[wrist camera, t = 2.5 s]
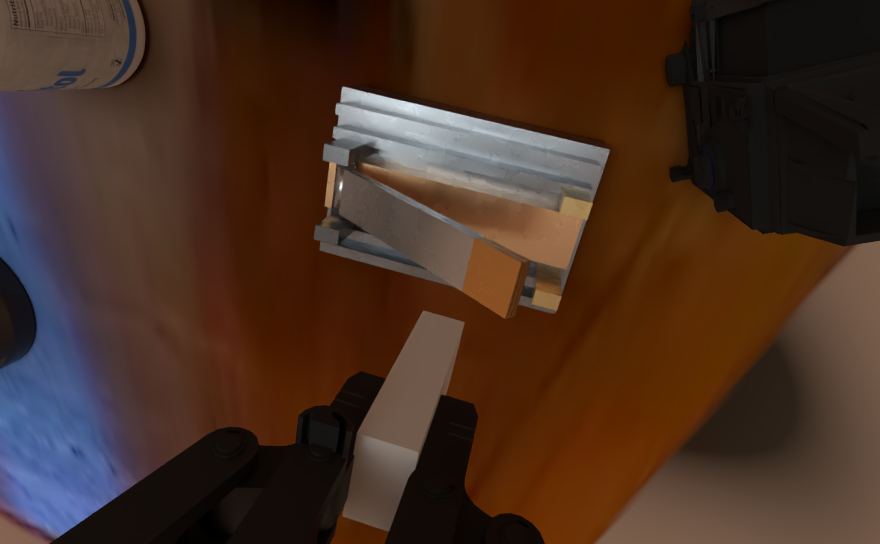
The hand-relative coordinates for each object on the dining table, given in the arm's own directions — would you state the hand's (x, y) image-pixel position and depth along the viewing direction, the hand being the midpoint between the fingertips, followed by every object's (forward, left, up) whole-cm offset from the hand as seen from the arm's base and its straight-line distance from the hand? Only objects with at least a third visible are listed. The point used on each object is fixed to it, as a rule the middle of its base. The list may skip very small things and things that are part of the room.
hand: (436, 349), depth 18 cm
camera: (+13, +12, -23) cm, 29 cm away
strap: (-4, 0, -12) cm, 13 cm away
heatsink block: (-3, 0, -23) cm, 23 cm away
